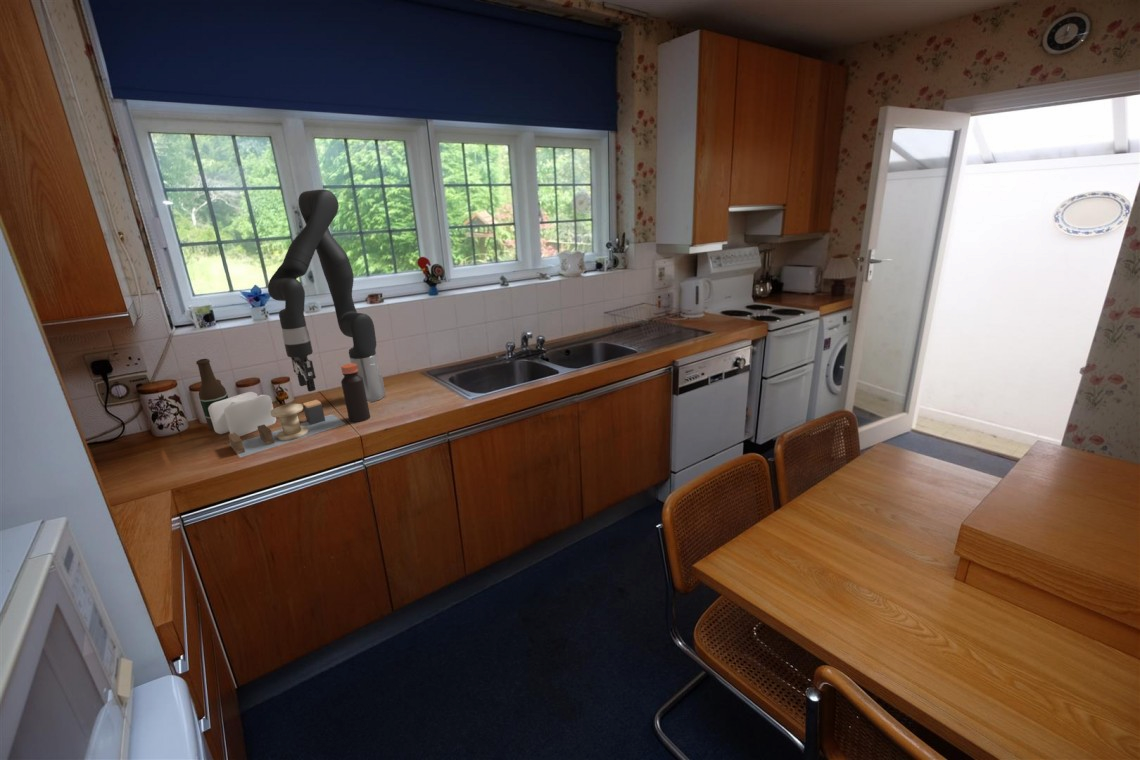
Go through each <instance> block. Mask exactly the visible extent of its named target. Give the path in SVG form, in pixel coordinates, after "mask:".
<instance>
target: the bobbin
mask: <svg viewBox="0 0 1140 760" xmlns="http://www.w3.org/2000/svg"><path fill="white" fill-rule="evenodd" d="M273 408H274V409H273V410H271V412H270V413H271V416H272V417H276V418H279V422H280V426H281V429H283V430H282V431H280V432H279V433H278V434H277V439H278V440H280V441H290V440H294V441H296V440H295V439H297V440H299V439H298V438H301V437H303V436H305V435H307V434H308V432H309V430H308V427H306V426H300V424H301V423H300V420H299V417H298V414H299V413H301V412H302V411H304V407H303V403H302V404H301V403H288V404H282V405H280V406H277V407H273ZM301 439H302V438H301Z"/></svg>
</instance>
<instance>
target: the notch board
mask: <svg viewBox="0 0 1140 760" xmlns="http://www.w3.org/2000/svg"><path fill="white" fill-rule="evenodd" d="M257 427H258V430H257V431H258V433H259V435H258V436H260V438H261V439H262V440H263V441H264V442H265V443H266V444H267V445H269V444H273V443H274V439H273V436H272V432H273V431H272V430H271V429H270V428H269V427H268V426H267V427H266V426H265V425H260V426H257ZM227 436H228V440H229V443H230V444H229V445H230V447H231V448H232V450H233V451H234V452H235V453H236V455H237V454H241V453H244V452H245V450H244V446H243V443H242V441H243V439H241V437H239V436H238V435H237V434H236V433H232V434H230V433H229V434H227Z"/></svg>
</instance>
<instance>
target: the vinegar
mask: <svg viewBox="0 0 1140 760" xmlns="http://www.w3.org/2000/svg"><path fill="white" fill-rule="evenodd" d="M340 368H341V373H342V375H343V378H342V379H341V381H340V383H341V388H342V389H341V390H342V392H343V398H344V401H345V406H346V411H347V415H348V420H349V422H350V423H355V424H357V423H362V422H366V421H368V420H369V419H371V413H370V407H369V404H368V402H369V401H367V397H366V392H365V387H364V382H363V378H362V377H361V376H359V375H358V367H357V364H354V363H351V362H350V363H347V364H346V363H345V364H343V365H341V366H340Z"/></svg>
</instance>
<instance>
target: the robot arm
mask: <svg viewBox="0 0 1140 760" xmlns="http://www.w3.org/2000/svg"><path fill="white" fill-rule="evenodd" d="M297 201H298V208H299V210H300V213H301V216H302V218H303V220H304V223H305V226H304V227H303V229H302V230H301V231H300V232H299V233H298V234H297V235H296V237H295V238H294V239H293V240H292V241H291V243H290V244H289V246H288V249H287V251H286V254H285V256H284V258H283V260H282V263H281V265H280V266H279V267H277V270H275V272H274V273H273V275H271V278H270V279H269V282H268V285H267V292H268V294H269V297H270V298H272V299H273V300H275V301H280V302H284V303H285V305H284V308H283V309H281V310H279V312H278V318H279V322H280V327H281V333H282V339H283V344H284V349H285V353H286V356H287V357H288V358H291V365H292V368H293V372H294V373H295V374H296V376H297V380H298V385H299V386H300V387H303V386H306V388H307V391H308V392H313V391H316V385H315V379H316V377H317V376H316V373H315V369H314V365H313V360H310V359H309V358H308V356H310V355H312V354H313V352H314V351H313V346H312V341H311V337H310V332H309V329H308V326H307V321H306V317H305V304H306V303H305V301H306V293H305V289H304V288H305V287H304V286H303V284H302V282H300V281H299V280H298V278H300V277H303V276H305V275H306V274H307V272H308V270H309V267H310V265H311V262H312V259H313V256H314V255H315V252H316V253H317V256H318V260H319V262H320V266H321V270H322V273H323V275H324V278H325V281H326V283H327V286H328V289H329V292H330V296H331V299H332V302H333V306H334V309H335V310H334V311H335V314H336V320H337V323H338V324H337V325H338V328H339V330H340V332H341V333H342V334H343V336H346V337H348V338H352V343H353V346H352V347H350V348H349V350H348V356H349V361H350V364H351V363H354V364H357V367H358V375H359V376H361V377H362V378H363V382H364V387H365V392H366V397H367V402H369V403H373V402H376V401H377V402H378V401H379V400H382V399H383V398H386V397H387V396H386V390H385V386H384V385H385V384H384V379H383V373H381V372H380V369H379V368H380V367H379V362H378V358H377V352H376V349H377V338H376V329H375V324H374V321H373V319H372V317H371V316H370V315H369V314H366V313H361V312H357V309H356V306H355V303H354V300H353V289H354V279H355V278H354V271H353V268H352V265H351V261H350V259H349V256H348V254H347V253H346V251H344V249H343V248H342V246H341V245H340V243H338V241H337V240H336V238H334V236H333V235H332V232H330V228H329V227H330V225H331V224H332V222H333V221H334V219H335V218H336V216H337V214H338V212H339V205H340V204H339V200H338V198H337V196H336V195H335V194H334V193H333V192H332V191H331V190H327V189H313V190H306V191H303V192H301V193H300V194H299V197H298V199H297Z"/></svg>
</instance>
